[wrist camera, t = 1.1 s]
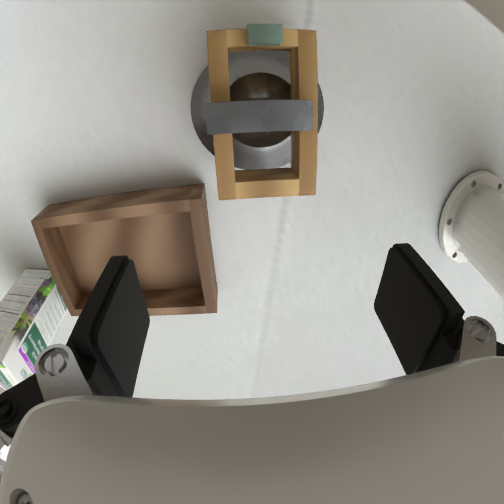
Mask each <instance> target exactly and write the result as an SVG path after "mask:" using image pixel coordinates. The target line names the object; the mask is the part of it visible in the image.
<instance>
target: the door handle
mask: <svg viewBox="0 0 504 504" xmlns="http://www.w3.org/2000/svg"><path fill="white" fill-rule="evenodd" d="M228 65H229V84H230V101H225V102H213V103H211V97H210V82H209V66H208V67H207V68H206V69H205V70H204V72H203V73H202V74H201V76H200V78H199V79H198V81H197V84H196V86H195V88H194V92H193V95H192V102H191V115H192V121H193V125H194V128H195V131H196V133H197V135H198V137H199V139H200V140H201V142H202V143H203V145H204V146H205V147H206V148H207V149H208V150H209V151H210V152H211V153H212V154H213V155H214V156H215V151H214V139H213V135H216V134H229V133H232V137H233V153H234V167H237V168H241V169H245V170H251V169H271V168H278V167H281V166H283V165H286V164H288V163H290V162H291V131H313V100H303V99H291V88H290V55H289V53H288V52H286V51H237V52H228ZM323 112H324V104H323V96H322V92H321V89H320V86H319V84H318V132H319V130H320V127H321V124H322V120H323ZM317 134H318V133H317Z"/></svg>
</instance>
